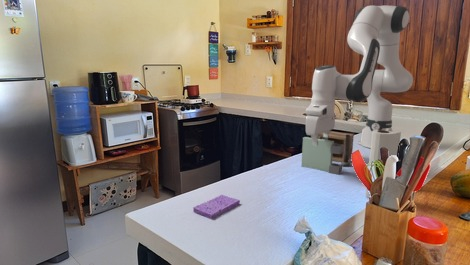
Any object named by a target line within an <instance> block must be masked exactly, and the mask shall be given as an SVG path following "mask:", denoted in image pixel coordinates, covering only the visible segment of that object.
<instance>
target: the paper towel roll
mask: <svg viewBox="0 0 470 265" xmlns="http://www.w3.org/2000/svg"><path fill="white" fill-rule="evenodd" d="M401 135H402V132H401V131H400V132H394V131H393V132H391V131H386V130H373V131H372V139H371V148H369V149H370V152H369V159H368V160H369V163H370V162H372V161H374V160H378V159H380V148H381V147H387V148H388V151H389V156H391V155H397V149H398V145H399V143H400V142H401ZM400 144H401V143H400ZM399 146H400V145H399ZM369 163H368V164H369ZM369 196H370V194H369V192H368V190H367V188H366V192H365V197H366V198H367V199H368V197H369Z"/></svg>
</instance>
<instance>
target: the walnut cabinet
mask: <svg viewBox="0 0 470 265" xmlns="http://www.w3.org/2000/svg"><path fill="white" fill-rule="evenodd" d="M323 134H324V133H321V134H319V135H318V137H317V139H322V137H323ZM354 136H355V134H354V133H347V132H338V131H332V130H330V133H329V136H328V140H329V141H334V143H336V144H342V145H344V152H343V153H342V154H334V153H333V159H332V162H335V163H336V162H337V163H340V164H341V165H343V167H347V168H349V167H351V159H352V158H351V154H352V155H353V149H354V148H353V146H354Z"/></svg>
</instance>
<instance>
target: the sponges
mask: <svg viewBox="0 0 470 265" xmlns="http://www.w3.org/2000/svg"><path fill="white" fill-rule="evenodd" d="M240 201H241V200H240V199H237V198H233V197H229V196H227V195H224V194H220V195H218V196H216V197H214V198H211V199H209V200H207V201H205V202H203V203H200V204H198V205H196V206H194V207H192V208H193V213H195V214H198V215H199V216H200V215H201V216H203V217H206V218H208V219H211V220H212V219H214V218H216V217H218V216H220V215H221V214H223V213H226V212H227V211H229V210H230V209H231V210H232V208H234V207H236V206H239V205H240Z"/></svg>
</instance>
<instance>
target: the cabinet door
mask: <svg viewBox="0 0 470 265" xmlns="http://www.w3.org/2000/svg"><path fill="white" fill-rule="evenodd" d="M317 140H318V145H317V146H313V145H312V138H311V137H309V136H304V137H302V146H301V147H302V148H301V151H302V152H301V167H302V168H303V167H304V168H309V169H313V170H318V171H322V172H326V173H328V174H332V175H333V174H334V175H337V176H338V175H340V174H342V173H343V167H344V166H343V165H341V163H336V162H335V163H334V162H333V161H332V159H333V153H334V154H342V153H343V152H344V145H342V144H336V143H334V141H329V140H322V139H318V138H317Z"/></svg>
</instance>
